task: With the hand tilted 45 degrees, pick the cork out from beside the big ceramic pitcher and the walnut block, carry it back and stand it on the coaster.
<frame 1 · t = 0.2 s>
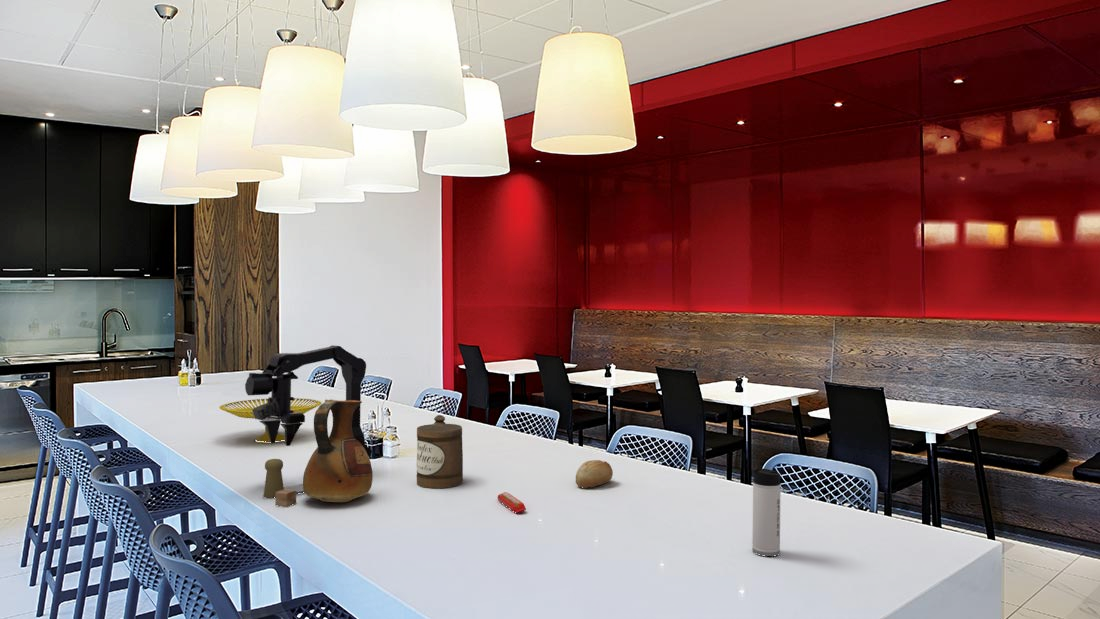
hand: (280, 444, 227), 14 cm above the table, tool pointing down, fingers open, 9 cm apart
coaster: (299, 490, 227), on the table
ceramic pitcher: (338, 500, 217), on the table
cork: (274, 496, 221), on the table
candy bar: (511, 508, 211), on the table
wooden container: (439, 483, 237), on the table
walnut block: (285, 505, 211), on the table
travel mug: (765, 553, 174), on the table
cake stand: (271, 440, 306), on the table
bread roll: (595, 485, 236), on the table
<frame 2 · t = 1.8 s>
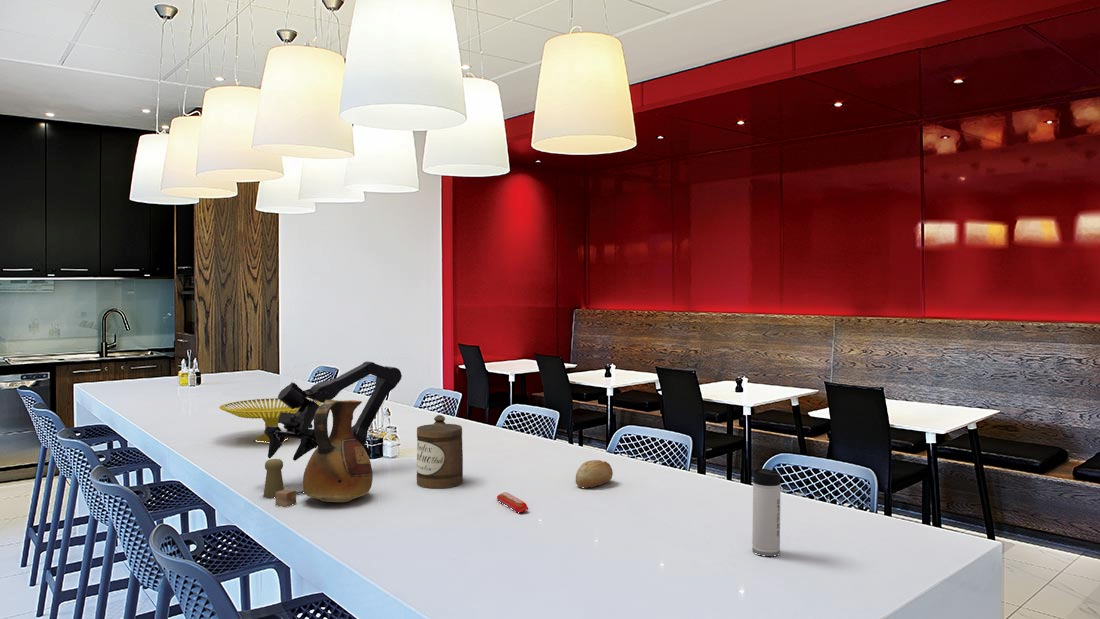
hand: (281, 458, 224), 10 cm above the table, tool tilted 45°, fingers open, 9 cm apart
nothing on the table moved.
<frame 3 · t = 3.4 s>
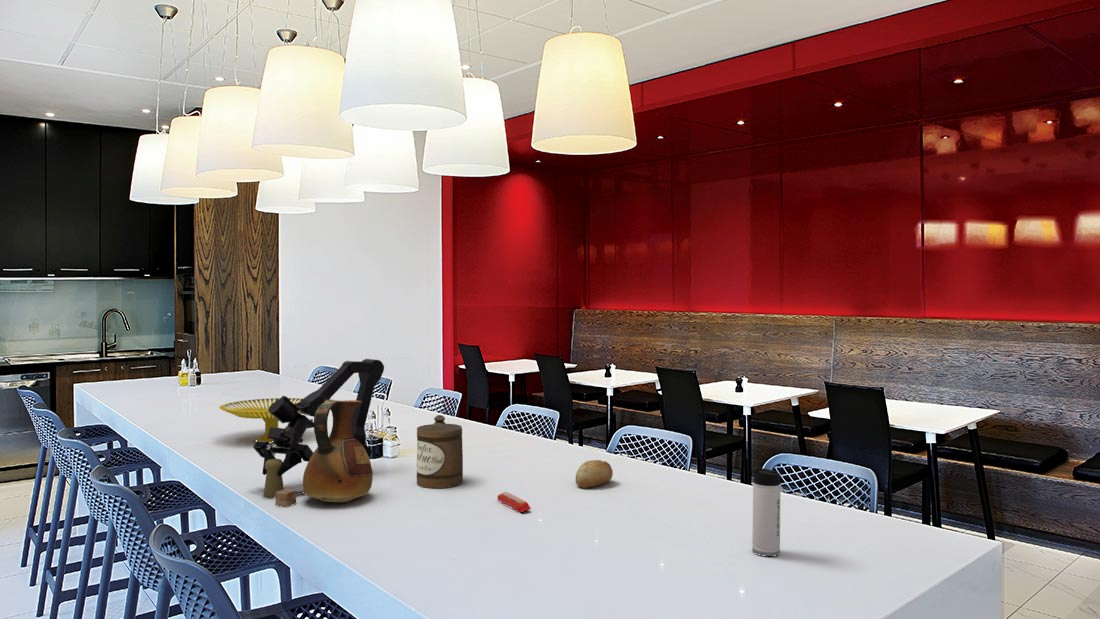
hand: (270, 474, 219), 7 cm above the table, tool tilted 45°, fingers closed on cork, 5 cm apart
cork: (274, 496, 221), on the table, touching gripper
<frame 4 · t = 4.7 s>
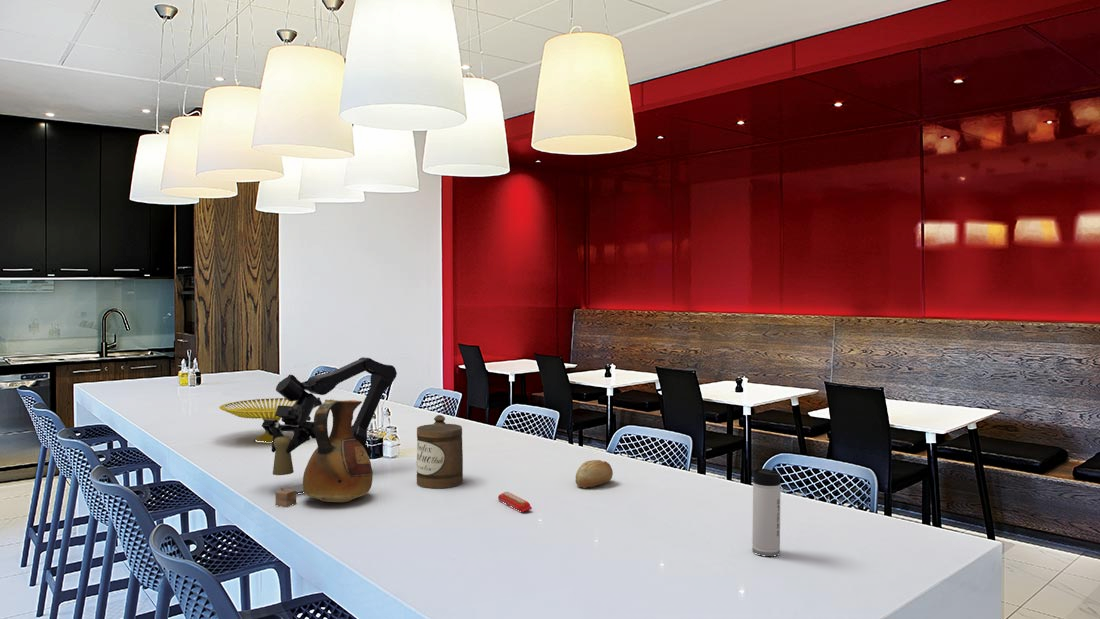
hand: (279, 452, 222), 13 cm above the table, tool tilted 45°, fingers closed on cork, 5 cm apart
cork: (283, 473, 223), point 6 cm above the table, touching gripper
when the fingers open (8 cm above the table, at t = 6.4 s): cork stays where it is, resting on coaster.
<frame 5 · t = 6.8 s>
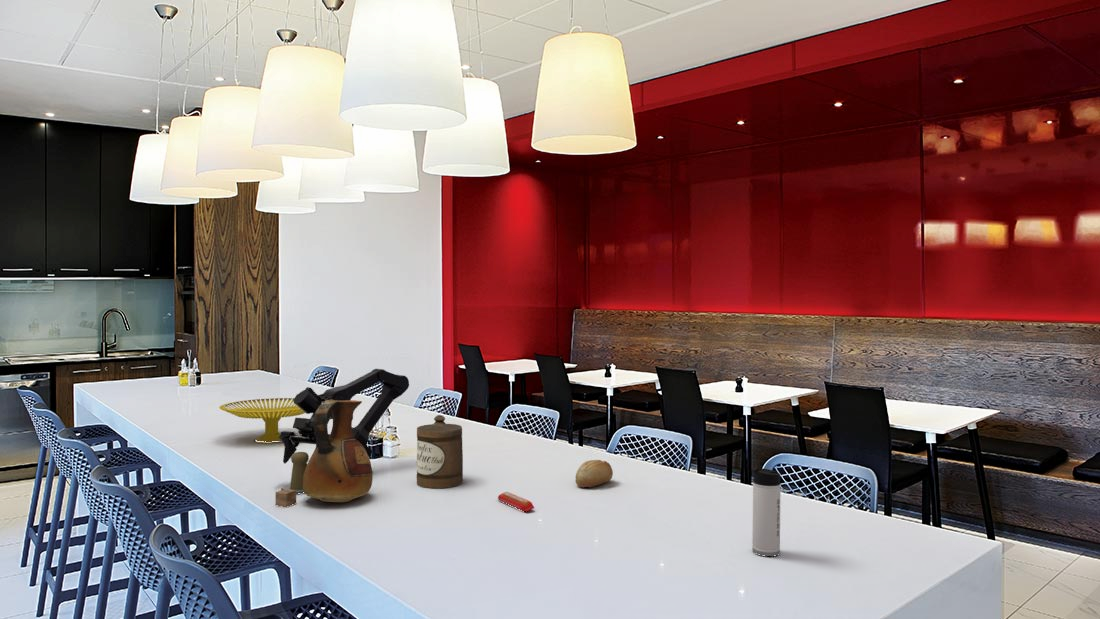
hand: (296, 463, 225), 9 cm above the table, tool tilted 45°, fingers open, 9 cm apart
cork: (300, 488, 227), point 1 cm above the table, touching coaster
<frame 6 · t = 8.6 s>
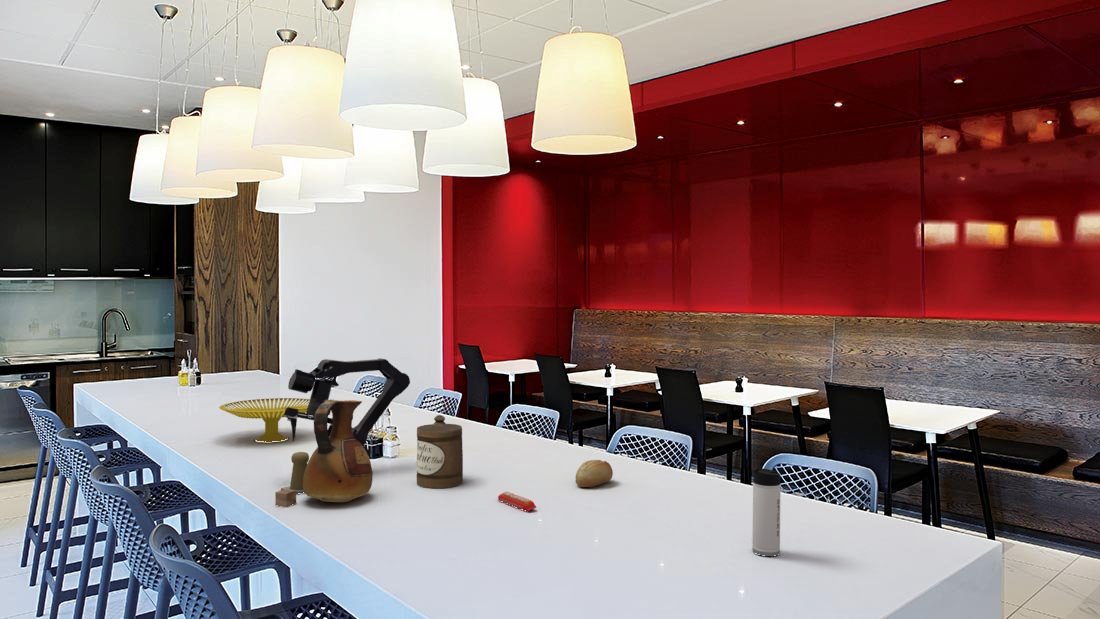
hand: (307, 444, 235), 13 cm above the table, tool tilted 20°, fingers open, 9 cm apart
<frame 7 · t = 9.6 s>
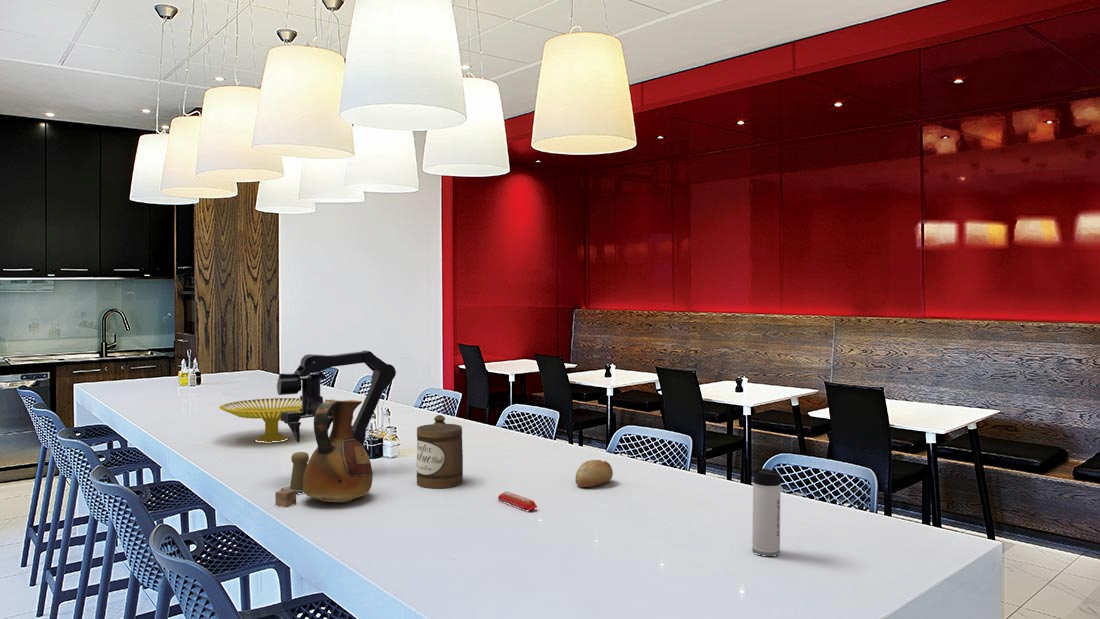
hand: (311, 440, 239), 13 cm above the table, tool pointing down, fingers open, 9 cm apart
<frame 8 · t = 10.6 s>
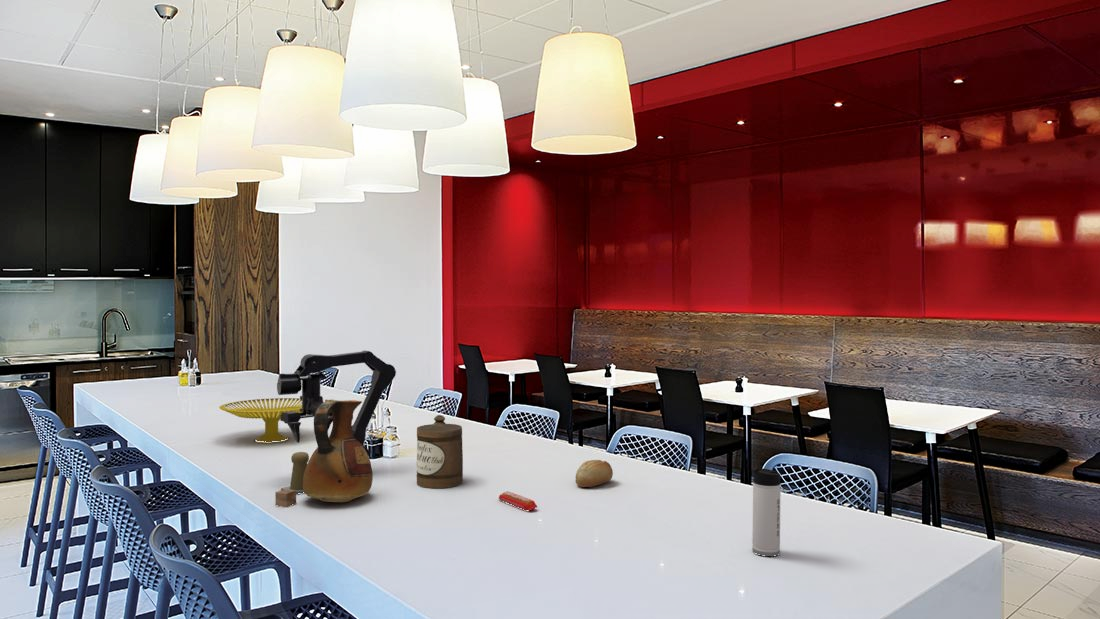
hand: (311, 440, 239), 13 cm above the table, tool pointing down, fingers open, 9 cm apart
at the end: cork inside the target area on the coaster (0.2 cm from its centre), point 0.6 cm above the coaster's base; cork tilted 0°; the gripper is holding nothing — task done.
